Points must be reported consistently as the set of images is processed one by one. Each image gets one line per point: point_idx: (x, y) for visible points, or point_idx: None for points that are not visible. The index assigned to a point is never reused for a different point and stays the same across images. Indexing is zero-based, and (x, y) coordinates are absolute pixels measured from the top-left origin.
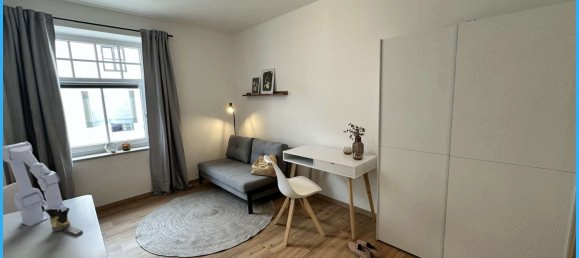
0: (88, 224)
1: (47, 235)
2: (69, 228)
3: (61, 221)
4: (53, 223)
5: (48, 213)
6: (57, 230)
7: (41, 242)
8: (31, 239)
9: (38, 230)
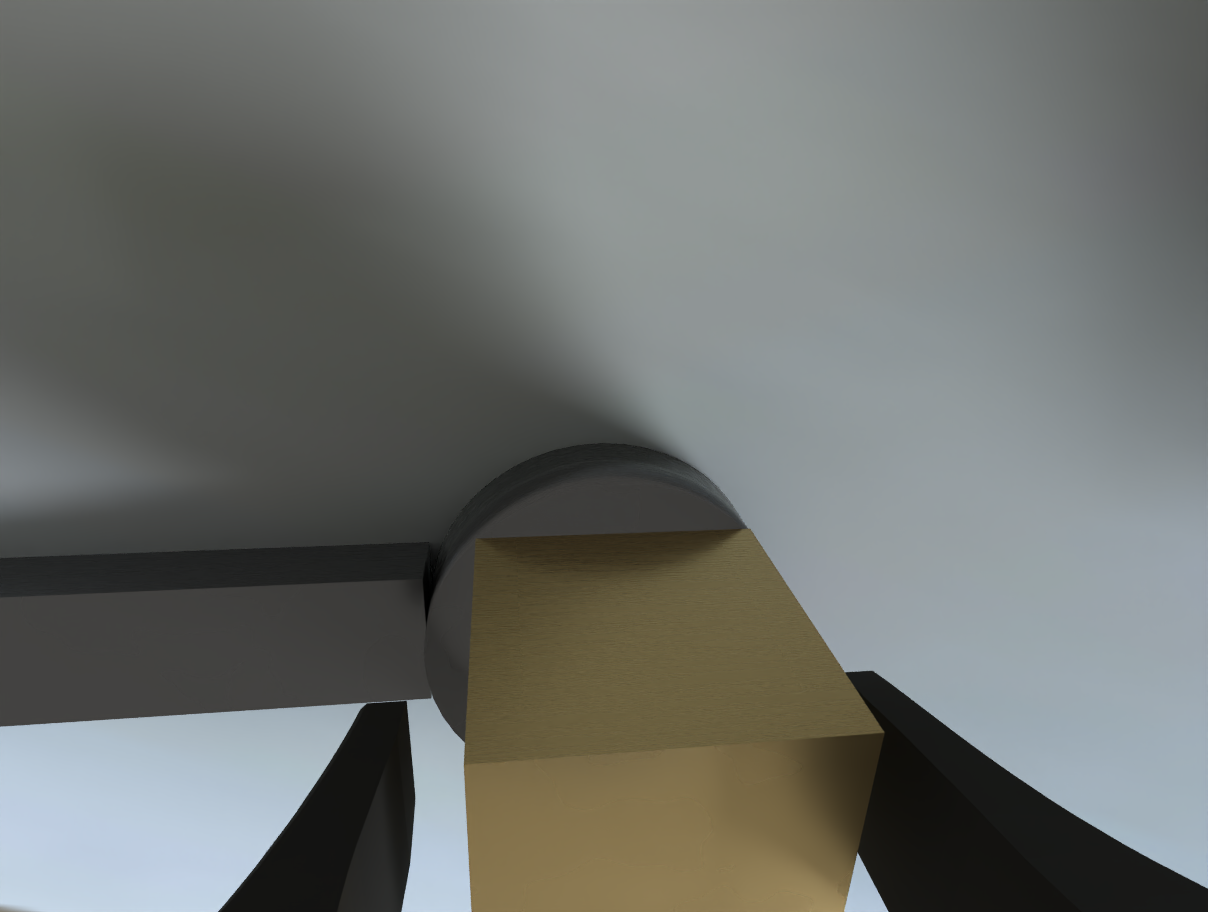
0: (184, 869)
1: (599, 318)
2: (242, 662)
3: (330, 770)
4: (646, 611)
5: (1086, 887)
6: (488, 509)
7: (344, 55)
8: (825, 48)
9: (1079, 356)
